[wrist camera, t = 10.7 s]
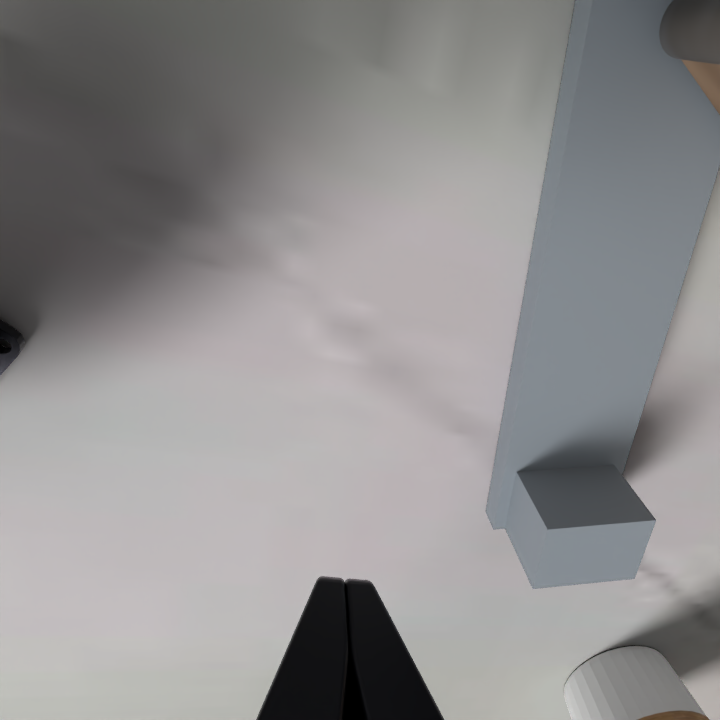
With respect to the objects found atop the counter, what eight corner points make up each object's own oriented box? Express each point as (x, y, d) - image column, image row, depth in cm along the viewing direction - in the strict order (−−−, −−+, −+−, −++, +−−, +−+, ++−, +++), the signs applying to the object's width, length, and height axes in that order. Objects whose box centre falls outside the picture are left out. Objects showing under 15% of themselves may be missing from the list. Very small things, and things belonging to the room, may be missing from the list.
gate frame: (485, 511, 26) (519, 590, 22) (610, -199, 14) (719, -262, 11) (597, 502, 26) (647, 577, 23) (801, -184, 15) (960, -240, 12)
